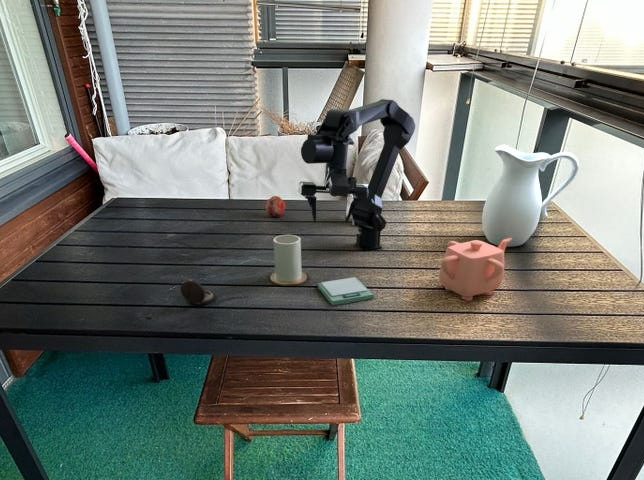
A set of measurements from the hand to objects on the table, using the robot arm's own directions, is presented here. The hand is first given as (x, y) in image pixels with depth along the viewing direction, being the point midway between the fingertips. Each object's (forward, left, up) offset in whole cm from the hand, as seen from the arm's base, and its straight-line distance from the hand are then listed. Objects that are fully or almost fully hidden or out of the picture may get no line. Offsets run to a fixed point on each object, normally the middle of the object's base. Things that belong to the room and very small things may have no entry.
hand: (330, 221), depth 137 cm
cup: (+15, +8, -11) cm, 20 cm away
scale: (+4, +22, -12) cm, 25 cm away
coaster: (+15, +8, -12) cm, 20 cm away
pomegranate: (+4, -48, -12) cm, 49 cm away
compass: (+41, +13, -12) cm, 44 cm away
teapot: (-27, +31, -12) cm, 43 cm away
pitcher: (-61, +6, -12) cm, 63 cm away
